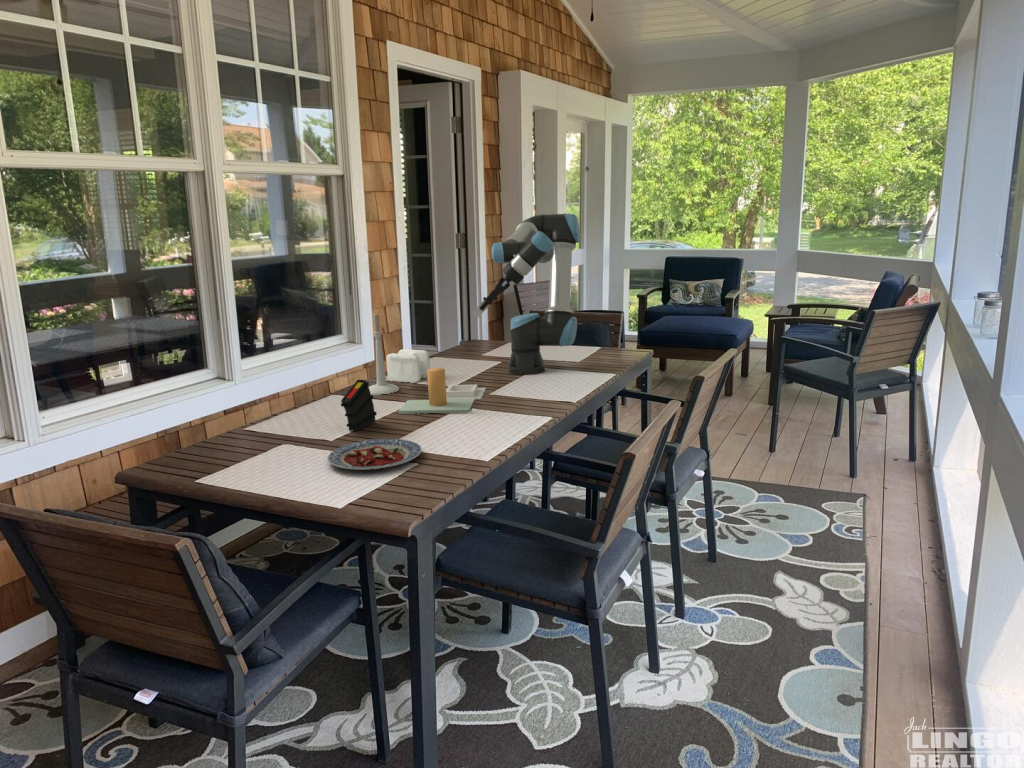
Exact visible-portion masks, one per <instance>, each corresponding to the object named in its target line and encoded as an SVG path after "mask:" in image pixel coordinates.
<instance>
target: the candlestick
mask: <svg viewBox="0 0 1024 768" xmlns="http://www.w3.org/2000/svg"><path fill="white" fill-rule="evenodd" d="M373 326H374V327H373V328H374V331H372V333H373V337H374V338H375V362H376V363H375V364H376V365H375V367H376V369H375V370H376V384H373V385H369V386H368V387H369V390H370V393H371V395H373V396H382V395H381V394H388V395H391V394H390V393H393V394H395V393H394V392H396V393H398V392H399V391H400V387H399V386H397V385H395V384H392V383H387V377H386V369H385V361H384V356H383V349H382V341H381V337H382V333H383V331H382V330H381V328H380V327H381V325H380V314H379V313H373ZM397 391H398V392H397Z"/></svg>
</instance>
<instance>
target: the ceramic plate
mask: <svg viewBox="0 0 1024 768" xmlns="http://www.w3.org/2000/svg"><path fill="white" fill-rule="evenodd" d="M388 449H392V450H393V451H394V452H393V451H390V450H388ZM397 451H401V452H403V453H404V454H405V455H404V457H403V455H402V454H401V453H399V452H397ZM420 454H422V447H421V445H419V443H416V442H414V441H411V440H408V439H407V440H406V439H400V438H377V439H368V440H367V439H366V440H361V441H357V442H352V443H349V444H346V445H342V446H340V447H338V448H336V449H334V450H333V451H331V452H330V453H329V454H328V456H327V461H328V463H329V464H330V465H331V466H334V467H337V468H341V469H344V470H361V471H372V470H371V469H374V470H381V468H383V469H387V468H386V467H388V468H391V467H396V466H399V465H401V464H406V463H408V462H411V461H412V460H415V458H417V457H418V456H420Z"/></svg>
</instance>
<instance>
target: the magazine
mask: <svg viewBox="0 0 1024 768" xmlns="http://www.w3.org/2000/svg"><path fill="white" fill-rule="evenodd" d="M369 387H370V383H369V382H368V381H366V379H357V380H356V381H355V382H354V384H353V385H352V386H351V387H350V388H349V390H348V391H347V392H346V393H345V395H344V396H343V398H342V399H341V400H340V402H341V403H340V406H341V407H343V408H344V410H345V414H344V416H345V417H346V418H347V424H346V427H347V428H348V431H349V430H353V431H352V432H358V431H357V430H359V429H361V430H362V428H363V429H365V428H367V427H369V426H371V425H373V424H375V423H376V422H377V421H376V416H377V411H375V406H374V402H373V400H374V398H375V397H374V395H371V393H370V390H369ZM374 422H375V423H374ZM372 423H373V424H372ZM370 424H371V425H370ZM368 425H369V426H368ZM366 426H367V427H366ZM364 427H365V428H364ZM359 431H360V430H359Z"/></svg>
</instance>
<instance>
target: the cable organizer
mask: <svg viewBox="0 0 1024 768" xmlns="http://www.w3.org/2000/svg"><path fill="white" fill-rule="evenodd" d="M385 358H386V370H387V371H386V372H387V378H388V380H390V381H392V382H393V381H399V382H398V383H407V382H410V383H409V384H412V383H413V384H415V383H418V382H420V381H421V380H422V379H421V378H425V379H428V376H427V370H428V369H431V367H430V366H431V363H430V353H429V352H428V351H427V350H423V349H407V348H403V349H400V350H399V351H398V352H397V353H393V352H391V353H389V354H387V355H386V357H385Z"/></svg>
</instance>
